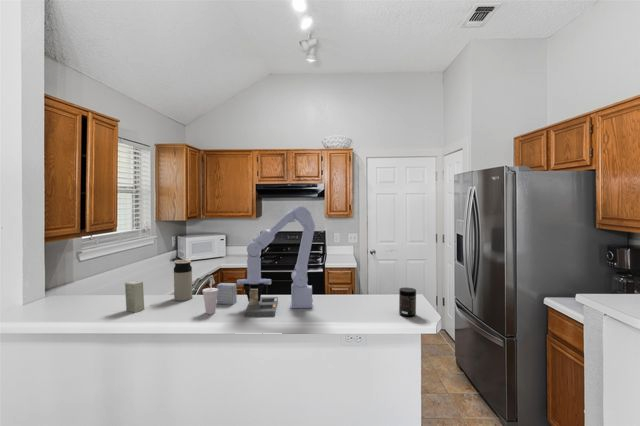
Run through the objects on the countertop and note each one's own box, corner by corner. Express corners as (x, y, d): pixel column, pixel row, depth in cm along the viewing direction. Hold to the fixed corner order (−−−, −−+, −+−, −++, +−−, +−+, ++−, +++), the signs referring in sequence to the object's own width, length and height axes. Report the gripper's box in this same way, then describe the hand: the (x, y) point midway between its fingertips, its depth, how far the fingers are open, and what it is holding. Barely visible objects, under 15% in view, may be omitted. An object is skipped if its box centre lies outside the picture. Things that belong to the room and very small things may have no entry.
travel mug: (183, 301, 159) (183, 263, 159) (170, 300, 162) (169, 261, 162) (196, 297, 167) (195, 260, 166) (183, 295, 170) (182, 259, 169)
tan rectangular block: (258, 302, 152) (258, 288, 152) (257, 304, 148) (257, 290, 148) (250, 302, 152) (250, 288, 151) (249, 304, 148) (249, 291, 148)
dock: (277, 301, 160) (277, 296, 160) (274, 316, 140) (274, 310, 140) (251, 301, 160) (251, 296, 159) (244, 316, 140) (244, 311, 139)
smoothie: (221, 310, 147) (221, 278, 146) (212, 315, 141) (211, 281, 140) (209, 309, 149) (208, 277, 148) (199, 314, 143) (198, 280, 142)
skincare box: (144, 309, 148) (144, 281, 148) (135, 312, 144) (134, 284, 144) (134, 307, 151) (133, 280, 151) (125, 310, 147) (124, 282, 146)
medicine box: (236, 301, 160) (236, 283, 159) (233, 304, 155) (233, 285, 155) (220, 301, 160) (220, 282, 160) (216, 304, 156) (216, 285, 156)
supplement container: (417, 313, 143) (417, 288, 142) (413, 318, 137) (414, 292, 136) (401, 311, 146) (401, 286, 146) (397, 316, 140) (397, 290, 140)
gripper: (235, 272, 145) (235, 304, 146) (270, 271, 146) (270, 303, 146) (238, 268, 152) (238, 299, 153) (271, 268, 153) (271, 298, 154)
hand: (254, 300), depth 150 cm, fingers closed on tan rectangular block, 3 cm apart
